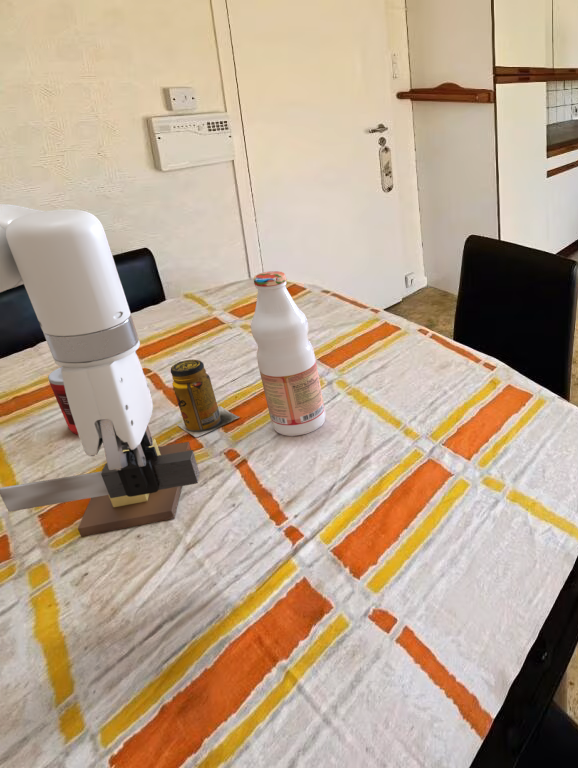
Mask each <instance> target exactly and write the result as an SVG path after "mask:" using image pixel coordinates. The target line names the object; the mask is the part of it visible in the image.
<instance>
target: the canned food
mask: <svg viewBox="0 0 578 768" xmlns="http://www.w3.org/2000/svg"><path fill="white" fill-rule="evenodd" d="M47 378H48V382H49V385H50V388H51V390H52V392H53V395H54V398H55V399H56V402H57V404H58V406H59V409H60V411H61V414H62V416H63V419H64V420H65V423H66V426H67V428H68V429H69V431H70V432H71V433H73V434H74V435H78V436H79V434H78V431H77V428H76V425H75V422H74V419H73V416H72V413H71V410H70V406H69V403H68V399H67V396H66V392H65V387H64V382H63V377H62V366H59V367H58V368H56V369H54V370H52V371H51V372H49V374H48V376H47Z"/></svg>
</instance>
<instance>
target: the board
mask: <svg viewBox="0 0 578 768" xmlns="http://www.w3.org/2000/svg"><path fill="white" fill-rule="evenodd" d="M158 449H159V452H160V455H164V454H171V453H177V452H183V451H190V450H192V448H191V445H190V442H189V441H184V442H178V443H173V444H166V445H162V446H158ZM105 464H107V462H106V463H105ZM182 487H183V486H179V487H173V488H167V489H162V490H158V491H157V492H155V493H150V494H149V497H148V500H147V501H145V502H140V503H134V504H129V505H124V506H118V507H113V505H112V503H111V500H110V498H109V495H104V496H98V497H93V498H89V499H90V500H89V501H88V504H87V506H86V509H85V511H84V513H83V515H82V517H81V520H80V522H79V525H78V527H77V531H78V532H79V536H80V537H87V536H93V535H97V534H102V533H108V532H112V531H117V530H122V529H127V528H132V527H138V526H142V525H148V524H152V523H158V522H164V521H168V520H174V519H175V517H176V513H177V510H178V509H177V508H178V504H179V500H180V495H181V492H182Z"/></svg>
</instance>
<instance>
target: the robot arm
mask: <svg viewBox="0 0 578 768" xmlns="http://www.w3.org/2000/svg"><path fill="white" fill-rule="evenodd" d="M22 285H23V286H24V288H25V290H26V293H27V295H28V298H29V300H30V303H31V306H32V308H33V311H34V313H35V316H36V318H37V321H38V324H39V326H40V329H41V331H42V332H43V336H44V338H45V340H46V343H47V346H48V348H49V351H50V353H51V357H52V359H53V361H54V364H56V365H57V366H59V367H62V377H63V382H64V387H65V392H66V396H67V399H68V403H69V406H70V410H71V413H72V416H73V419H74V422H75V425H76V428H77V431H78V434H79V435H78V437H79V440H80V443H81V446H82V450H83V452H84V453H85V454H86V455H87V456H88V457H94V456H96V455H98V454H99V452H100V450H101V448H102V445H103V449H104V453H105V459H106V463H107V465H108V469H109V470H114V469H116V471H118V474H119V477H120V479H121V482H122V485H123V487H124V490H125V493H126V495H127V496H129V497H132V496H138V495H144V494H149V493H155V492H157V491H158V488H159V486H158V483H157V480H156V477H155V474H154V471H153V468H152V465H151V462H150V460H148V461H146V459H145V458H146V457H152V456H157V453H156V450H155V447H149V446H153V439H154V438H153V437H152V433H151V430H150V427H149V423H150V420H151V417H152V415H153V410H154V409H153V408H154V403H153V398H152V394H151V391H150V387H149V385H148V381H147V378H146V375H145V373H144V370H143V367H142V364H141V362H140V359H139V356H138V354H137V350H138V349H139V348H140V346H141V342H140V339H139V336H138V332H137V329H136V326H135V323H134V319H133V316H132V313H131V310H130V306H129V303H128V301H127V297H126V294H125V290H124V288H123V285H122V281H121V278H120V275H119V273H118V269H117V265H116V262H115V259H114V256H113V253H112V250H111V247H110V244H109V241H108V238H107V235H106V232H105V229H104V226H103V224H102V222H101V221H100V220H99V218H98V217H97V216H96V215H94V214H93V213H91V212H89V211H85V210H81V209H51V210H41V209H36V208H30V207H26V206H22V205H15V204H8V203H0V293H3V292H6V291H7V290H10V289H11V290H12V289H13V288H17V287H19V286H22ZM123 450H129V451H124V452H123Z"/></svg>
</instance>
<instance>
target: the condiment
mask: <svg viewBox="0 0 578 768" xmlns="http://www.w3.org/2000/svg"><path fill="white" fill-rule="evenodd" d="M170 375H171V376H172V380H173V381H172V384H171V385H172V389H173V393H174V395H175V398H176V402H177V405H178V408H179V411H180V415H181V418H182V420H183V421H182V422H179V423H176V426H178V428H180V429H182V430H183V431H184V432H186V433H188V434H189V435H191V436H193V437H194V438H198V437H201V436H203V435H205V434H206V435H207V434H208V433H210V432H212V431H214V430H217V429H218V428H221V427H222V426H225V425H227V424H229V423H231V422H234V421H235V420H237V419H240V418H241V417H240V416H239V415H236V414H234V413H233V412H231V411H229V410H228V409H227V408H224V407H223V406H221V405H218V402H217V399H216V395H215V391H214V389H213V384H212V381H211V377H210V375H209V374H208V373H207V370H206V368H205V365H204V362H202V361H201V360H199V359H186V360H182V361H179V362H176V363H174V364H173V365H172V366H171V367H170Z"/></svg>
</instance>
